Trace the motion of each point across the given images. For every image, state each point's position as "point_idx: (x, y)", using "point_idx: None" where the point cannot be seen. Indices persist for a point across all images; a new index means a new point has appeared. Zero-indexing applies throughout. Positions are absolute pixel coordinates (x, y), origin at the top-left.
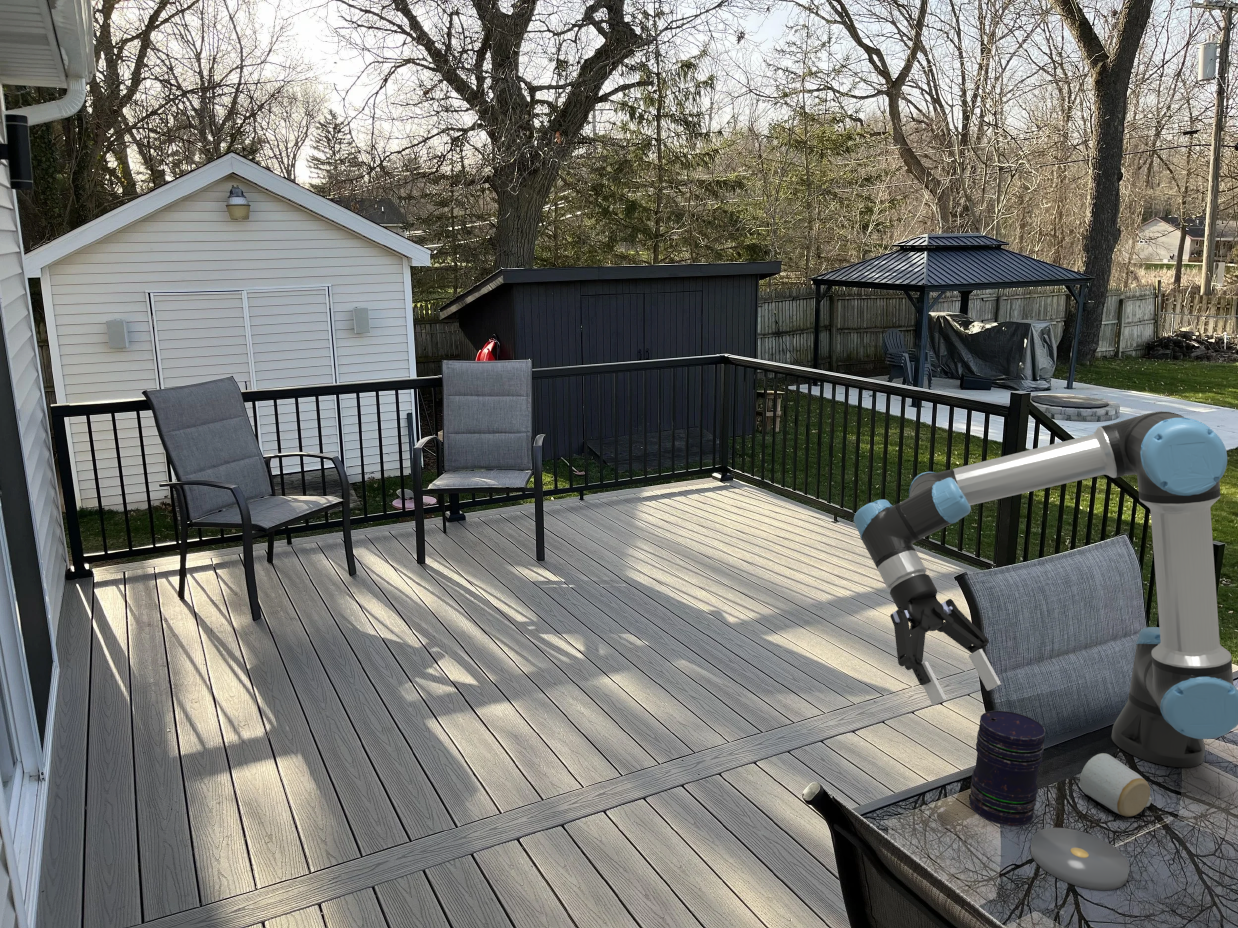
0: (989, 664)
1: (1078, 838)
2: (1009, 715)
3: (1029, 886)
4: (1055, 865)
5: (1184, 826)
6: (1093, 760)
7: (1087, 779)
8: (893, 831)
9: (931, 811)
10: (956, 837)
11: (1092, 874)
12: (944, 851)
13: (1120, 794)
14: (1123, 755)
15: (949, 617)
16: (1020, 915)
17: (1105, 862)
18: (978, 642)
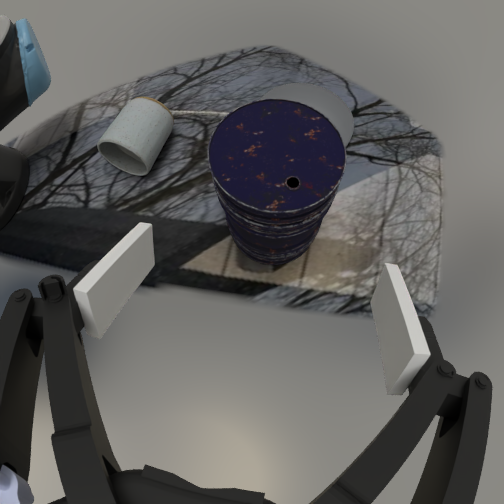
0: (111, 254)
1: None
2: (232, 174)
3: (388, 138)
4: (351, 123)
5: None
6: (130, 142)
7: (152, 153)
8: (438, 281)
9: (363, 279)
10: (386, 225)
11: (330, 99)
12: (419, 220)
13: (169, 112)
14: (27, 201)
15: (67, 459)
16: (427, 132)
17: (297, 97)
18: (53, 308)
